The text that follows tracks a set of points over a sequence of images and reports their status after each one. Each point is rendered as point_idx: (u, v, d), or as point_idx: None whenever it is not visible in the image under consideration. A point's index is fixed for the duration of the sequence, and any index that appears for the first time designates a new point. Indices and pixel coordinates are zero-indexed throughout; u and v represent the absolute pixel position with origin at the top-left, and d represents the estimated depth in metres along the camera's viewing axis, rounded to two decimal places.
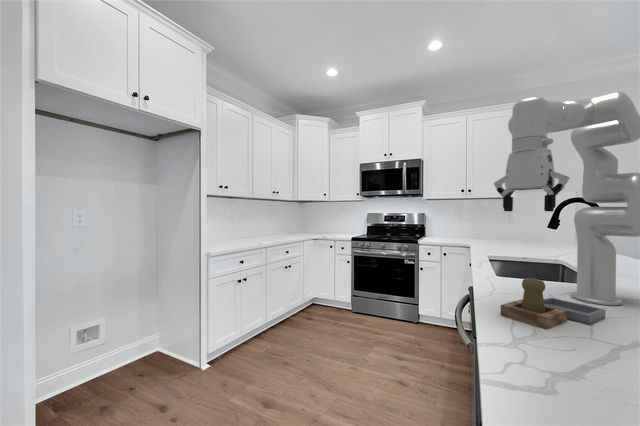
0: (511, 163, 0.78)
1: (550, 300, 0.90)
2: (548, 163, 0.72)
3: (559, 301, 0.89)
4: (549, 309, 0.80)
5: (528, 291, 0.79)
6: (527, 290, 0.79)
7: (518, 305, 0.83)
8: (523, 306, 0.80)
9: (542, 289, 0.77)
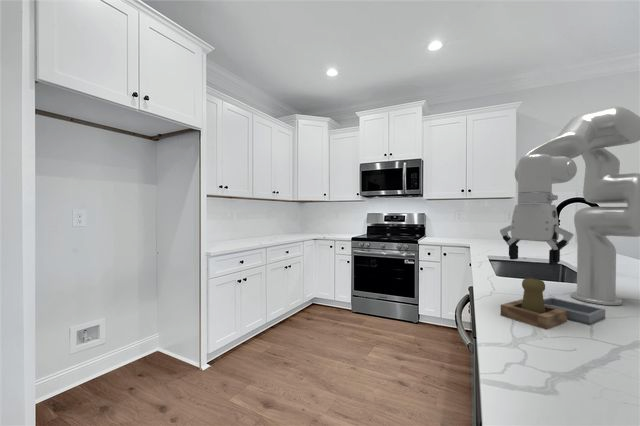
0: (517, 214, 0.81)
1: (550, 300, 0.90)
2: (553, 219, 0.75)
3: (559, 301, 0.89)
4: (549, 309, 0.80)
5: (528, 291, 0.79)
6: (527, 290, 0.79)
7: (518, 305, 0.83)
8: (523, 306, 0.80)
9: (542, 289, 0.77)
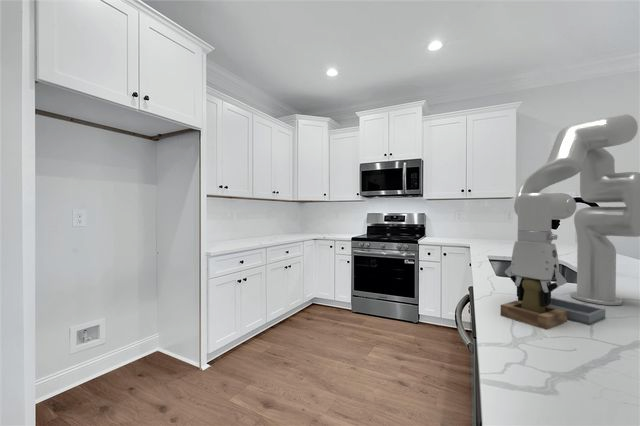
0: (517, 251, 0.81)
1: None
2: (553, 259, 0.75)
3: (559, 301, 0.89)
4: (549, 309, 0.80)
5: (528, 291, 0.79)
6: (527, 290, 0.79)
7: (518, 305, 0.83)
8: (523, 306, 0.80)
9: (542, 289, 0.77)
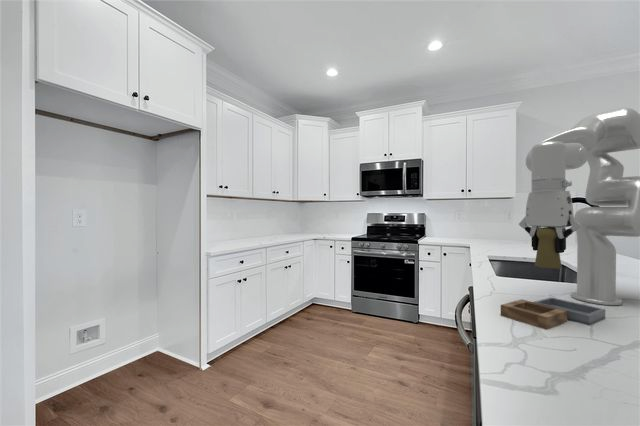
0: (531, 202, 0.83)
1: (550, 300, 0.90)
2: (567, 205, 0.77)
3: (559, 301, 0.89)
4: (549, 309, 0.80)
5: (543, 239, 0.81)
6: (542, 238, 0.81)
7: (518, 305, 0.83)
8: (538, 254, 0.82)
9: (557, 236, 0.79)
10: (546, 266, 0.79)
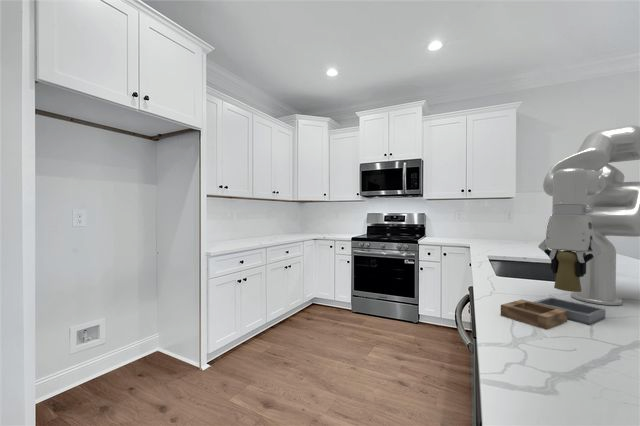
0: (552, 225, 0.85)
1: (550, 300, 0.90)
2: (589, 230, 0.79)
3: (559, 301, 0.89)
4: (549, 309, 0.80)
5: (563, 262, 0.82)
6: (562, 261, 0.83)
7: (518, 305, 0.83)
8: (558, 277, 0.83)
9: (577, 260, 0.81)
10: (566, 289, 0.81)
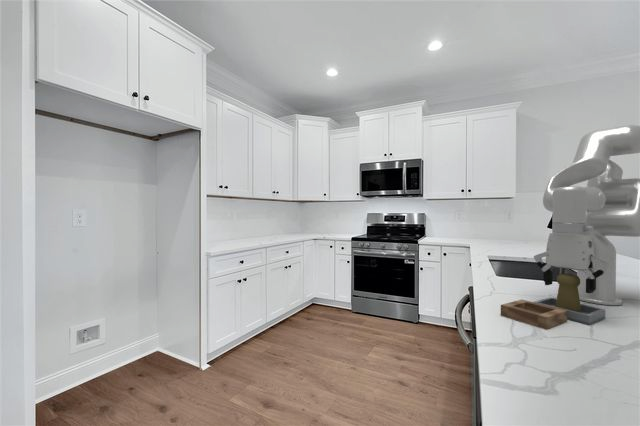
0: (552, 243, 0.85)
1: (550, 300, 0.90)
2: (589, 249, 0.79)
3: None
4: (549, 309, 0.80)
5: (563, 285, 0.83)
6: (562, 285, 0.83)
7: (518, 305, 0.83)
8: (558, 300, 0.84)
9: (577, 283, 0.81)
10: None
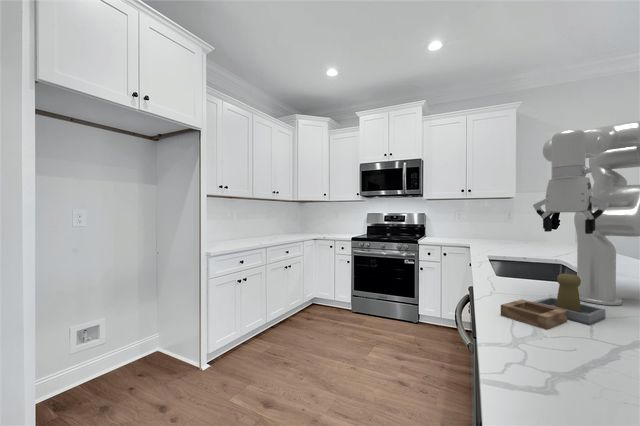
0: (551, 188, 0.86)
1: (550, 300, 0.90)
2: (588, 190, 0.80)
3: None
4: (549, 309, 0.80)
5: (564, 286, 0.83)
6: (563, 285, 0.83)
7: (518, 305, 0.83)
8: (558, 300, 0.84)
9: (578, 284, 0.81)
10: None
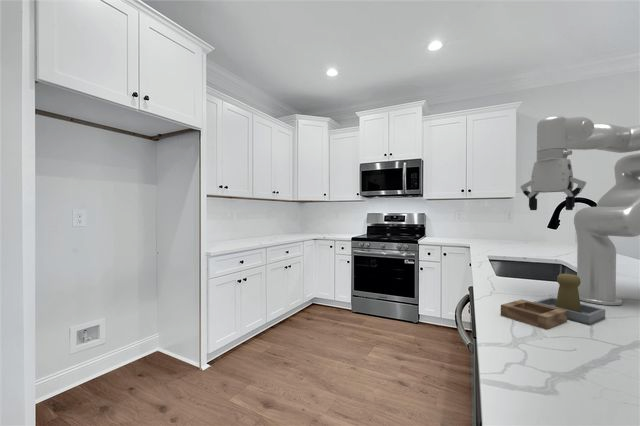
0: (536, 170, 0.94)
1: (550, 300, 0.90)
2: (568, 171, 0.88)
3: None
4: (549, 309, 0.80)
5: (564, 285, 0.83)
6: (563, 285, 0.83)
7: (518, 305, 0.83)
8: (558, 300, 0.84)
9: (578, 284, 0.81)
10: None
